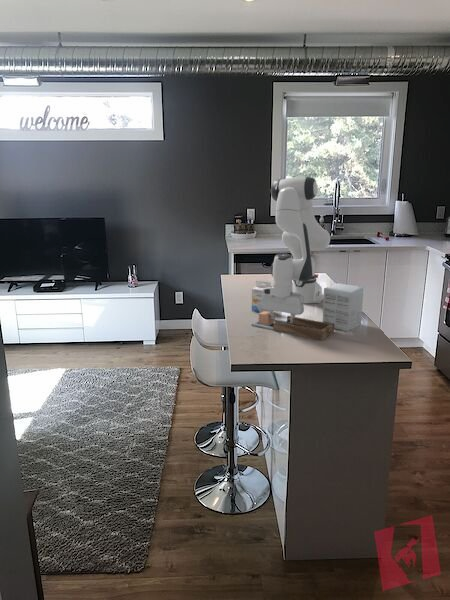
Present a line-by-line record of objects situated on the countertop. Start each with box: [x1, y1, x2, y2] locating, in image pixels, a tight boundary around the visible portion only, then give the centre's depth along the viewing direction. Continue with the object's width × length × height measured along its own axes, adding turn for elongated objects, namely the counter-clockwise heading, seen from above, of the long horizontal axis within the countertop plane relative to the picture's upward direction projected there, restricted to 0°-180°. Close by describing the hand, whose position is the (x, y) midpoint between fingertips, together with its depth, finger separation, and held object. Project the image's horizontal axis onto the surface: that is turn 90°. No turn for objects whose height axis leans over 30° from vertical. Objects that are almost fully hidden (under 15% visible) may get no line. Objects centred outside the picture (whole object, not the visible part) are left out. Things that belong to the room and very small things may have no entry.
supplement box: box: [322, 282, 364, 332], centre depth 216 cm, size 13×13×18 cm
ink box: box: [251, 280, 272, 313], centre depth 239 cm, size 8×5×15 cm, turn 60°
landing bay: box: [251, 318, 287, 331], centre depth 220 cm, size 13×12×1 cm
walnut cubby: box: [273, 315, 335, 341], centre depth 210 cm, size 13×22×4 cm, turn 53°
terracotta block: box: [258, 311, 275, 326], centre depth 220 cm, size 5×5×5 cm
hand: (281, 320), depth 216 cm, fingers open, 8 cm apart
